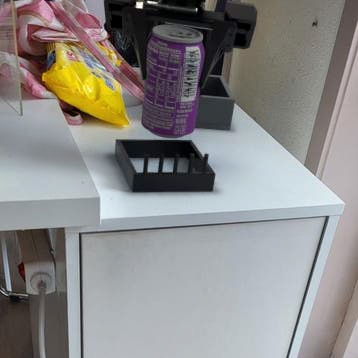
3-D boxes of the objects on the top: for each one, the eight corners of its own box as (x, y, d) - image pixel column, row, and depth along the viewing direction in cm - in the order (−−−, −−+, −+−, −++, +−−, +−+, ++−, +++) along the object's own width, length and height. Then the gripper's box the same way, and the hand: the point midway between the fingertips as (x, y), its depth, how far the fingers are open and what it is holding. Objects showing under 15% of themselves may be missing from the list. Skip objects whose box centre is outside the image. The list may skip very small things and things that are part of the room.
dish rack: (114, 156, 92) (116, 120, 89) (189, 156, 95) (193, 122, 92) (132, 192, 84) (134, 154, 81) (213, 191, 87) (218, 155, 84)
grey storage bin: (153, 99, 112) (155, 69, 109) (218, 105, 114) (223, 76, 110) (159, 124, 103) (162, 93, 100) (230, 130, 105) (235, 99, 102)
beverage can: (195, 125, 89) (208, 29, 81) (191, 145, 84) (205, 44, 76) (144, 117, 89) (152, 20, 81) (137, 137, 84) (145, 35, 76)
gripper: (109, -100, 73) (92, 34, 72) (272, -75, 74) (257, 57, 73) (114, -32, 84) (99, 84, 83) (255, -11, 85) (242, 104, 84)
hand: (172, 82), depth 81 cm, fingers closed on beverage can, 7 cm apart
